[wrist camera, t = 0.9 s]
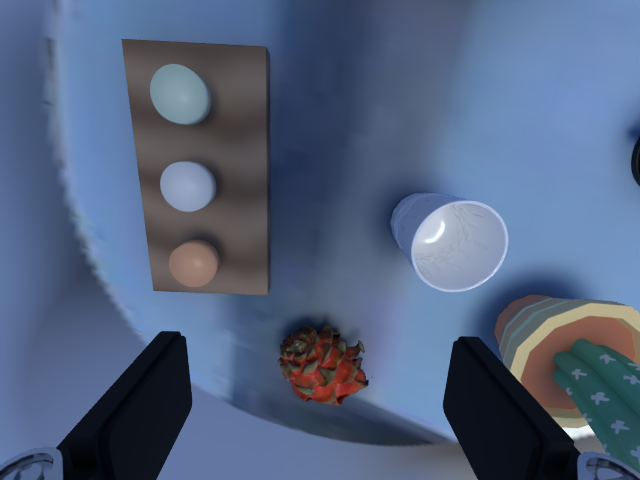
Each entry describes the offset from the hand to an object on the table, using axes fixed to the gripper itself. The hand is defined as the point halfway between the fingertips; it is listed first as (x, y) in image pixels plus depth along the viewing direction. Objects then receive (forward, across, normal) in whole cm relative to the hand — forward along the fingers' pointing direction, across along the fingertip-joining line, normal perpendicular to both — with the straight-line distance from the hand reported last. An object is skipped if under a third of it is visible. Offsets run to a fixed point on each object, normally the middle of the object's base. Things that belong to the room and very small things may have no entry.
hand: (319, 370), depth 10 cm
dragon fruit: (+25, -1, +16) cm, 30 cm away
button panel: (+24, +12, -4) cm, 27 cm away
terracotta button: (+21, +12, +3) cm, 24 cm away
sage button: (+21, +12, -12) cm, 27 cm away
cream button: (+21, +12, -4) cm, 24 cm away
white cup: (+24, -12, -1) cm, 27 cm away
